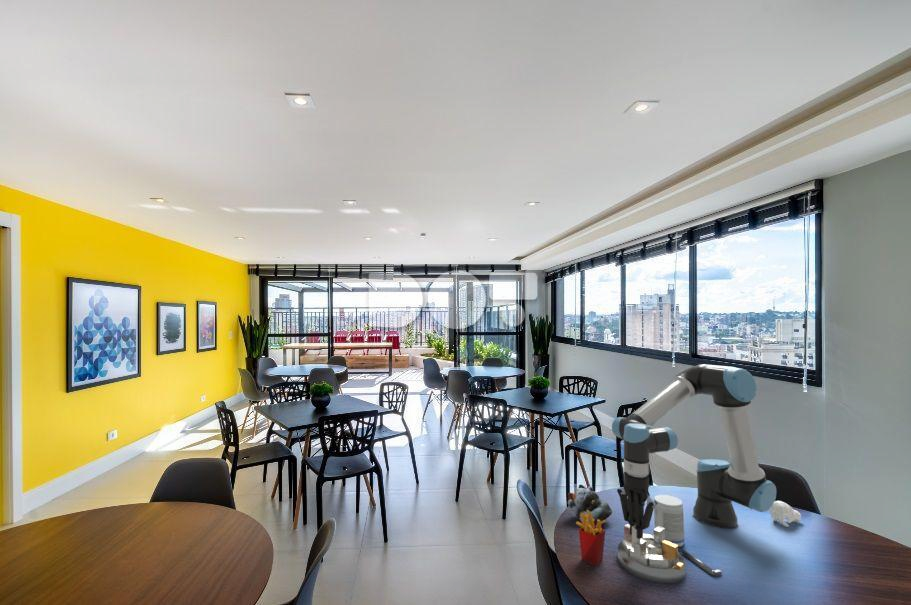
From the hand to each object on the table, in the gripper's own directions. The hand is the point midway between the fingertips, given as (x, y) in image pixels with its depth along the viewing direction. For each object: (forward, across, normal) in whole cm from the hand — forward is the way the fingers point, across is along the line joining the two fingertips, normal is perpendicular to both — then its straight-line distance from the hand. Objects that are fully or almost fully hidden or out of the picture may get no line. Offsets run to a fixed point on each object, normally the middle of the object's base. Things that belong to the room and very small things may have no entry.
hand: (636, 546), depth 131 cm
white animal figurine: (+7, +14, +79) cm, 80 cm away
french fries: (+7, -12, -9) cm, 17 cm away
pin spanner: (+7, +9, +20) cm, 23 cm away
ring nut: (+4, +1, +6) cm, 8 cm away
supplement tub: (+7, -4, +25) cm, 27 cm away
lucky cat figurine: (+8, -29, +13) cm, 33 cm away
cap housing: (+7, +1, +6) cm, 10 cm away
